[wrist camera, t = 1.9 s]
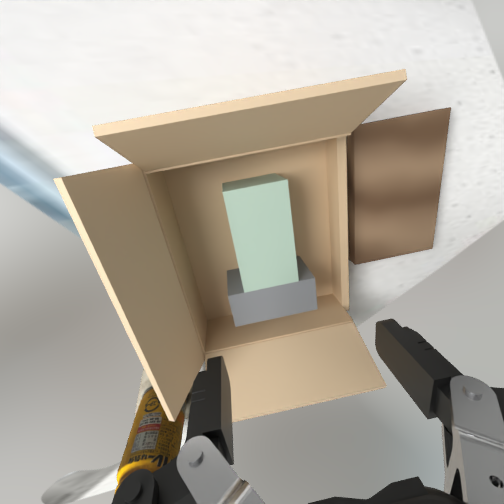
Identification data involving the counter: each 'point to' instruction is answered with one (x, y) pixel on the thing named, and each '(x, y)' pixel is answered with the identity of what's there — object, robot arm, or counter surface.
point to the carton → (230, 242)
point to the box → (265, 252)
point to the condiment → (152, 433)
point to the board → (395, 184)
